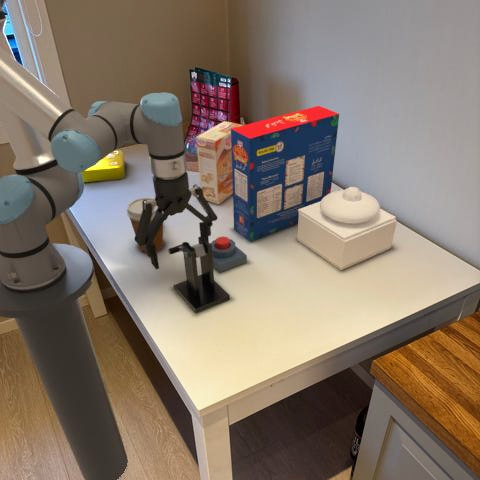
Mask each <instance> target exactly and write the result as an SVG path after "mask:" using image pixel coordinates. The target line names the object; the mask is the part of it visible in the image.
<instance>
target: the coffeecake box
mask: <svg viewBox="0 0 480 480" xmlns="http://www.w3.org/2000/svg"><path fill="white" fill-rule="evenodd" d="M243 125H244V124H240V123H236V122H230V121H227V120H223V121H222V122H220V123H218V124H217V125H215V126H213V127H211V128H209V129H207V130H206V131H204V132H202V133H200V134H199V135H197V136H196V137H195V138H196V150H197V162H198V163H197V164H198V177H199V179H198V180H199V187H200V188H202V190H203V195H204V197H205V199H206V200H207V202H208V203H212V204H216V205H220V204H221V203H222V202H224V201H225V200H226V199H228V198H229V197H231V196H233V180H232V149H231V129H232V128H235V127H239V126H243Z"/></svg>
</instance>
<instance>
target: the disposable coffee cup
mask: <svg viewBox="0 0 480 480" xmlns="http://www.w3.org/2000/svg"><path fill="white" fill-rule="evenodd" d="M143 200H147V201H152V200H155V197H140V198H137V199H133V200H132V201H130V202H129V203H128V205H127V209H126V215H127V216H128V218H129V220H130V224H131V226H132V229H133V232H134V235H136V232H137V228H138V225H139V221H140V217H141V214H142V210H143V207H142V201H143ZM157 208H158V206H155V207H154V211H152V217H151V221H150V224H151V222H152V220H153V218H154V216H155V212H156V210H157ZM163 213H164V212H163V211H162V214H163ZM150 224H149V225H150ZM153 243H154V244H155V246H156V252H157V251H159V250H162V248H163V246H164V223H163V224H162V226H161V228H160V229H159V231H158V233H157V235H156V237H155V238H154V240H153ZM138 247H139V249H140V250H141V251H142V252H145V247H144V245H142V246H140V245H139V244H138ZM145 253H146V252H145Z"/></svg>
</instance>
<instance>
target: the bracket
mask: <svg viewBox="0 0 480 480" xmlns="http://www.w3.org/2000/svg"><path fill="white" fill-rule="evenodd" d="M197 241H198V244H203V246H204V250H205V254H206V255H204V256H201V257H199V261H200V262H199V264H200V273H201V274H199V273H198V272H199V271H198V263H197V262H198V261H197V258H196V251H195V250H194V249H193V248H192V247H191V246H192V245H190V243H189V242H188V243H189V244H188V243H187V241H183V242H182V243H181V244H182V247H183V252H182V255H183V262H184V263H183V265H184V271H185V280H183V281H180V282H178V283H175V284H173V290H174V291H175V292H176V293H177V294H178V295H179V296H180V297H181V299H182V300H183V301H184V302H185V303H186V304H187V305H188V306H189V307H190V309H191V310H192V311H193V312H194V313H195V314H198V313H200V312H203V311H205V310H208V309H210V308H212V307H215V306H217V305H220V304H222V303H224V302H227V301H229V300H231V295H230V294H229V293H228V292H227V291H226V290H225V289H224V288H223V287H222V286H221V285H220V284H219V283H218V282H217V281H216V280H215V273H214V272H215V271H214V266H213V256H212V245H211V244H210V243H211V242H210V241H209V242H208V241H207V240H206V239H205V238H203V237H202V236H198V237H197Z"/></svg>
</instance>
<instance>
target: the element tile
mask: <svg viewBox="0 0 480 480" xmlns="http://www.w3.org/2000/svg"><path fill="white" fill-rule="evenodd" d="M125 167H126V161H125V156H124V152H123V150H120V149H116V150H115V151H113V152H112V153H110V154H108V155H107V156H106V157H104V158H103V159H102V160H100V161H99V162H98V163H97V164H96V165H95V166H93V167H91V168H89V169H87V170H85V171H83V172H81V173H82V176H83V180H84V183H93V182H104V181H114V180H116V181H117V180H121V179H123V178H124V177H125V176H126V170H125V169H126V168H125Z"/></svg>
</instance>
